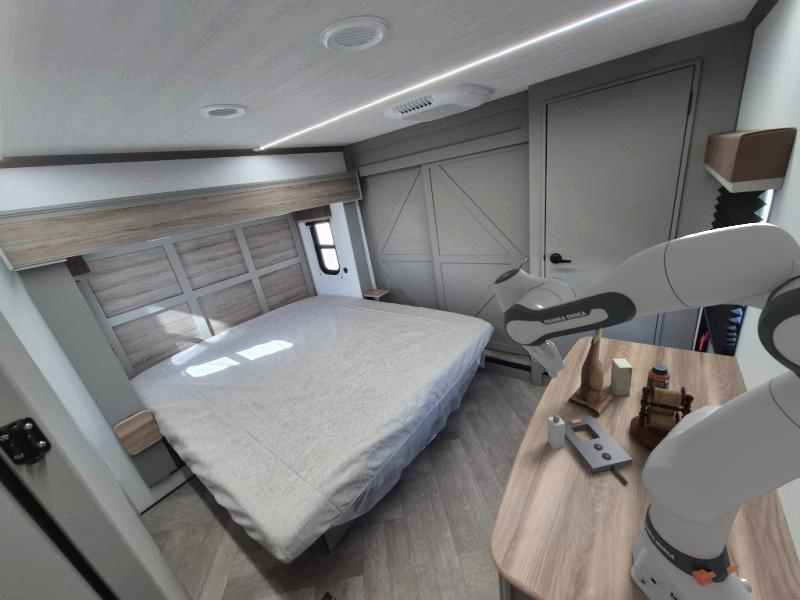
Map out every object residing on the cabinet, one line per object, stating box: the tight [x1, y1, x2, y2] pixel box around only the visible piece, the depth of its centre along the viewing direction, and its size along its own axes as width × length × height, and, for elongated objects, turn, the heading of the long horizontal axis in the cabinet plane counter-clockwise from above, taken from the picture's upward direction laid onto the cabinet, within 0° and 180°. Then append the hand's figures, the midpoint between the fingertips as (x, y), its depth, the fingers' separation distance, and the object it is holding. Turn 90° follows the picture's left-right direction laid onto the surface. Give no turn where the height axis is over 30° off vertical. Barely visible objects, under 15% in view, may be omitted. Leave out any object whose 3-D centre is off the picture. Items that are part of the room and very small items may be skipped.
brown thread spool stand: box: [629, 382, 695, 451], centre depth 92 cm, size 15×15×20 cm
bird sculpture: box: [567, 328, 613, 417], centre depth 108 cm, size 11×12×32 cm
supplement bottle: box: [645, 363, 671, 395], centre depth 110 cm, size 6×6×11 cm
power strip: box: [563, 414, 633, 485], centre depth 95 cm, size 23×12×3 cm, turn 6°
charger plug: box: [547, 414, 566, 450], centre depth 98 cm, size 4×4×12 cm
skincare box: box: [609, 357, 634, 396], centre depth 114 cm, size 6×4×12 cm
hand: (544, 367), depth 85 cm, fingers open, 8 cm apart
